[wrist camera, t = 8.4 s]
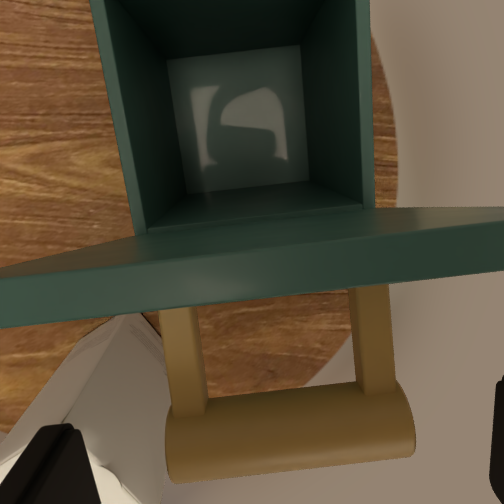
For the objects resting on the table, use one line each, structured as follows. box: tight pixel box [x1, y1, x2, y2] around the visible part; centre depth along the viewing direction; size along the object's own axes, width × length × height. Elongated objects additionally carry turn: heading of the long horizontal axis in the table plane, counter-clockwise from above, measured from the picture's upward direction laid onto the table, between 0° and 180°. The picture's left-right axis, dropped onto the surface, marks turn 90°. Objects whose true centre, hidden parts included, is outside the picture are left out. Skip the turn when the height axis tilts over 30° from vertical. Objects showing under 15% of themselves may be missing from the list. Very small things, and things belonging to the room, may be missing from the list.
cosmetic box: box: [0, 313, 171, 504], centre depth 28 cm, size 8×7×16 cm
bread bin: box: [89, 0, 375, 236], centre depth 23 cm, size 11×11×15 cm
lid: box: [0, 207, 504, 484], centre depth 12 cm, size 12×11×5 cm
